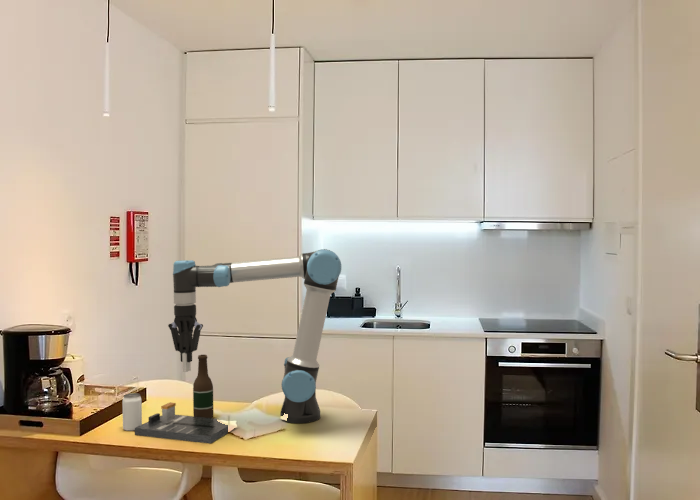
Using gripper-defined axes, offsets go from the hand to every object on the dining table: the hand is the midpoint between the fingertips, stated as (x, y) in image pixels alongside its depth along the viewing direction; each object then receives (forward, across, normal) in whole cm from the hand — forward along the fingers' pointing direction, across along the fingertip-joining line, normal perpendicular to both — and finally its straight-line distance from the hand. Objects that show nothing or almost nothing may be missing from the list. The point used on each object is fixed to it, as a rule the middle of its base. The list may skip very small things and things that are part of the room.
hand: (186, 371), depth 220 cm
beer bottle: (+22, +3, -15) cm, 27 cm away
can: (+21, +21, +3) cm, 30 cm away
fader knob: (+18, +8, 0) cm, 20 cm away
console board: (+21, 0, 0) cm, 21 cm away
